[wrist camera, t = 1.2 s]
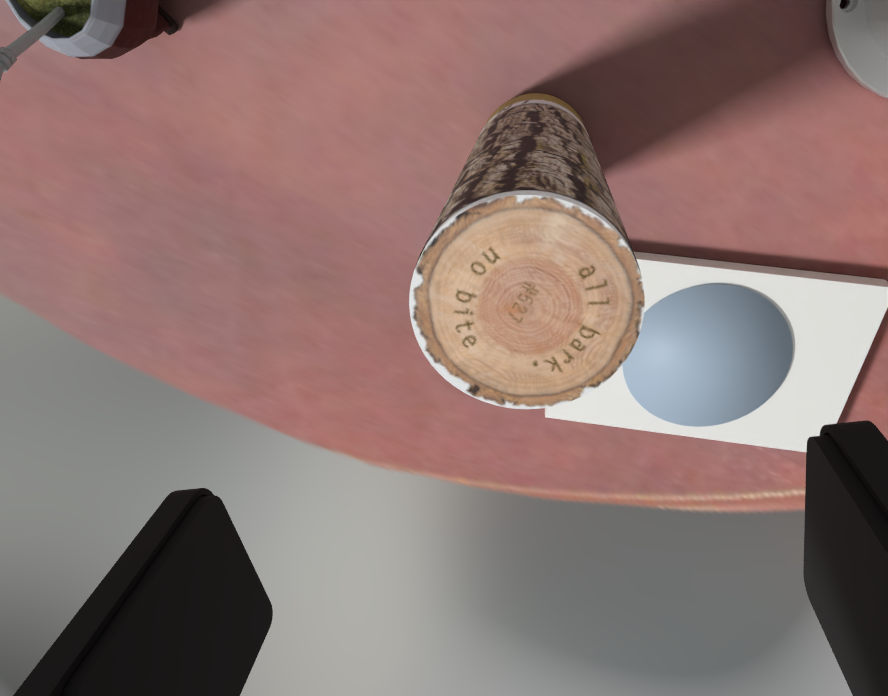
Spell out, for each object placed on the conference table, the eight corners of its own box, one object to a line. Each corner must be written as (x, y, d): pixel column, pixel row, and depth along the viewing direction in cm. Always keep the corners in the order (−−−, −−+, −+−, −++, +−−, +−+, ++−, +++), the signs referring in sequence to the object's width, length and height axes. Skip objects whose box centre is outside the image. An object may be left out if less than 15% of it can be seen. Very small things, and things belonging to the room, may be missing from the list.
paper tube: (609, 122, 39) (695, 263, 17) (554, 219, 42) (568, 442, 20) (510, 71, 39) (469, 149, 17) (461, 173, 42) (374, 351, 20)
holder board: (884, 279, 41) (897, 289, 40) (815, 442, 47) (823, 456, 46) (573, 244, 43) (574, 253, 41) (544, 406, 49) (545, 418, 48)
